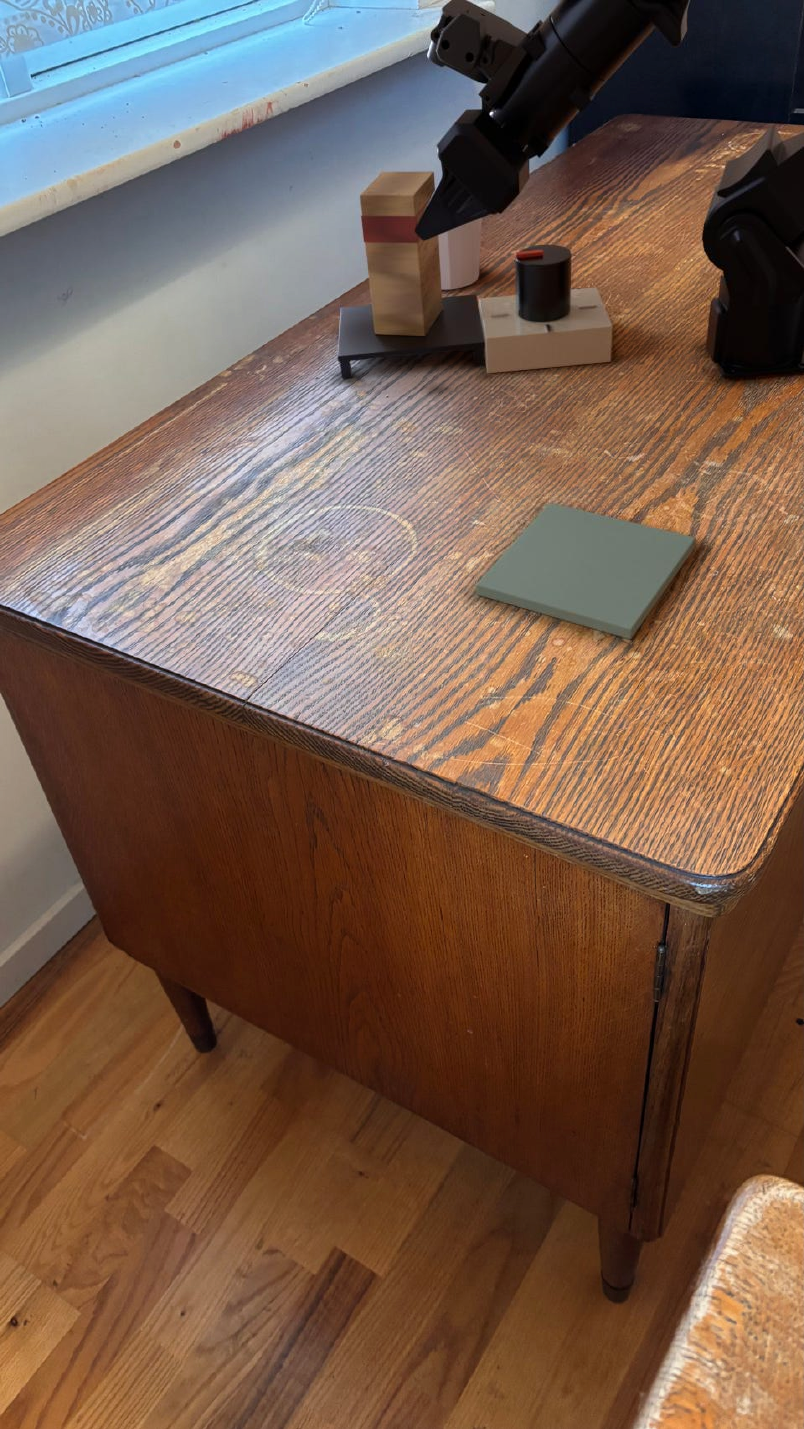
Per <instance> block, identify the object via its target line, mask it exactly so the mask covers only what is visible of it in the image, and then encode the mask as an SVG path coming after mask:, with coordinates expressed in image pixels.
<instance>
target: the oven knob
mask: <svg viewBox="0 0 804 1429" xmlns="http://www.w3.org/2000/svg"><path fill="white" fill-rule="evenodd" d="M514 261H515V262H514V266H515V270H514V271H515V295H516V313H517V315H518V316H519V317H520V318H522V319H525V320H528V321H534V322H546V321H553V320H557V319H560V318H562V317H564V316H566V315H567V314H568V313H569V312H570V309H571V290H572V251H571V250H570V249H569V248H567V247H565V246H563V245H558V244H537V245H532V246H528V247H525V248H522V249H520V250H519V251H516V252H515V256H514Z"/></svg>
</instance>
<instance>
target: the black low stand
mask: <svg viewBox="0 0 804 1429" xmlns="http://www.w3.org/2000/svg"><path fill="white" fill-rule="evenodd" d="M442 304H443V309H442V311H441V312H440V314H439V315H438V317H437V318H436V320H435V321H434V323H433V324H432V326H431V328H430V329H429V331H428V332H427V334H426V335H425V336H406V335H381V334H375V328H374V319H373V310H372V304H363V305H352V306H344V307H342V306H341V307H340V315H339V329H338V345H337V346H338V348H337V361H338V363H339V367H340V374H341V379H352V375H353V372H352V365H351V362H353V361H363V360H373V359H383V358H395V357H405V356H415V355H416V356H417V355H424V354H425V355H427V354H435V353H436V354H437V353H447V352H448V353H449V352H457V351H458V352H459V351H467V350H473V364H474V367H479V366H485V357H484V348H485V341H484V335H483V329H482V324H481V318H480V312H479V300H478V296H477V294H465V295H463V294H462V295H454V296H453V295H452V296H444V297H443V296H442Z"/></svg>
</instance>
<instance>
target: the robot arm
mask: <svg viewBox="0 0 804 1429" xmlns="http://www.w3.org/2000/svg"><path fill="white" fill-rule="evenodd" d="M690 2H691V0H560V1H559V3H558V4H557V5H556V6H555V8H553V9H552V11H551V13H549V15H548V16H547V17H546V19H544V21H542V19H539V20H538V21H537V22H536V24H535V25H534V27H532V28H531V29H530V30H529V31H528V32H525V31H523V29H520V28H518V27H517V26H515V25H514V24H512V23H511V22H510V21H508V20H506V19H504V18H502V17H501V16H499V15H497V14H495V13H493V12H491V11H489V10H487V9H485V8H483V7H481V6H479V5H477V4H476V3H474V2H472V1H469V0H449V1H448V2H447V3H446V4H445V5H444V6H442V8H441V11H440V14H439V17H438V20H437V23H436V25H435V27H434V28H433V29H432V30H431V31H430V36H429V38H430V40H431V42H430V45H429V48H428V50H427V53H426V57H427V59H428V60H429V61H430V62H431V63H433V64H434V65H436V66H438V67H440V68H444V67H447V68H448V69H451V70H452V71H455V72H456V73H458V74H460V75H463V76H464V77H466V78H469V79H470V80H472V81H474V82H477V83H479V84H484V86H483V87H482V88H481V90H480V91H479V92H478V93H477V95H478V96H479V97H480V98H481V108H477V109H475V108H473V109H472V108H471V109H469V108H468V109H465V110H464V112H463V113H462V114H460V116H459V117H458V118H457V120H456V121H455V122H454V123H453V124H452V125H451V126H450V128H448V130H447V131H446V133H445V134H444V135H443V136H442V137H441V138H440V140H439V141H438V142H437V144H436V148H437V150H436V152H437V153H436V154H437V155H436V156H437V158H438V160H439V162H440V167H441V172H442V174H441V177H440V179H439V182H438V183H437V185H436V186H435V191H434V193H433V195H432V197H431V199H430V201H429V203H428V205H427V206H426V208H425V210H424V212H423V214H422V216H421V218H420V220H419V222H418V223H417V225H416V227H415V230H414V231H415V233H416V234H417V235H418V236H419V237H420V238H421V239H422V240H423V241H426V240H428V239H430V238H433V237H435V236H438V235H440V234H442V233H445V232H447V231H449V230H452V229H454V228H457V227H459V226H462V225H464V224H467V223H469V222H472V221H474V220H477V219H480V218H482V219H483V218H485V217H488V216H491V215H492V216H495V215H497V214H500V215H502V214H503V213H504V212H505V211H506V210H507V208H508V207H509V206H510V205H511V204H512V203H513V202H514V201H515V200H516V198H518V196H519V195H520V194H521V192H522V191H523V190H524V188H525V186H526V184H527V183H528V181H529V180H530V160H532V159H533V158H535V157H537V158H538V159H540V158H541V157H542V156H543V155H544V154H545V153H546V152H547V151H548V150H549V148H550V147H551V145H552V144H553V143H554V141H555V139H556V138H557V137H558V135H559V134H560V133H561V132H562V131H563V130H564V129H565V128H566V127H567V126H568V124H569V123H570V122H571V121H572V120H573V119H574V118H575V117H576V115H577V114H579V112H580V113H582V112H583V111H584V110H585V109H586V107H587V106H588V105H589V104H591V102H592V100H594V97H595V96H596V94H597V93H598V91H599V90H600V89H601V88H602V87H603V86H604V85H605V84H606V82H607V81H608V80H609V79H610V78H611V77H612V75H614V74H615V73H616V72H617V70H618V69H619V68H620V67H621V66H622V65H623V63H624V62H625V61H626V60H627V59H628V58H629V57H630V56H631V55H632V53H633V52H635V50H636V49H637V48H638V47H639V46H640V45H641V44H642V43H643V41H644V40H646V39H647V37H648V36H649V35H650V34H651V33H652V32H653V30H654V29H655V28H656V29H657V31H658V32H659V33H660V34H661V36H662V37H663V38H664V39H665V41H666V42H667V43H668V45H670V47H672V48H678V47H679V46H680V45H681V44H682V41H683V39H684V38H685V35H686V33H687V31H688V22H687V20H688V9H689V5H690ZM701 240H702V241H701V242H702V246H703V247H702V248H703V251H704V254H705V255H706V257H707V259H708V261H709V262H710V263H711V264H713V265H714V266H715V267H716V269H718V270H720V271H722V274H723V275H720V277H719V278H720V279H719V286H718V287H719V288H718V296H717V297H716V296H715V297H713V298H712V299H711V300H710V305H709V312H708V313H709V314H708V323H707V331H706V332H707V333H706V341H705V349H706V352H707V353H708V356H709V357H710V359H711V361H712V363H714V364H715V366H716V367H717V370H718V371H719V373H720V375H721V377H722V378H723V379H724V380H727V381H728V380H729V381H730V380H731V381H732V380H741V379H751V378H761V377H772V376H783V375H795V374H804V131H802V132H800V133H797V134H795V135H793V136H791V137H789V138H786V139H782V137H781V135H780V133H779V130H778V128H777V126H776V124H775V125H774V124H772V125H771V126H770V127H768V129H767V130H765V131H764V132H763V134H762V135H761V136H760V137H759V138H758V140H757V141H756V142H755V143H754V144H753V145H752V146H751V147H750V148H748V150H747V151H746V152H744V153H743V154H741V155H740V156H737V157H736V158H732V159H730V160H728V161H726V163H725V165H724V169H723V171H722V175H721V178H720V181H719V182H718V184H717V186H716V188H715V189H714V193H713V195H712V197H711V200H710V204H709V207H708V210H707V213H706V216H705V220H704V223H703V227H702V235H701Z"/></svg>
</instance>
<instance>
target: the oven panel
mask: <svg viewBox="0 0 804 1429" xmlns="http://www.w3.org/2000/svg"><path fill="white" fill-rule="evenodd" d="M478 306H479V312H480V318H481V324H482V329H483V335H484V341H485V348H484V364H485V368H486V373H487V374H496V373H497V374H498V373H506V372H519V371H527V370H529V371H530V370H539V369H547V368H548V369H549V368H559V367H560V368H561V367H569V366H570V367H571V366H580V365H590V364H591V365H592V364H601V363H603V364H604V363H610V362H612V350H613V349H612V348H613V328H614V326H613V324H612V322H611V319H610V317H609V314H608V311H607V309H606V306H605V304H604V301H603V299H602V296H601V294H600V291H599V289H598V287H597V286H595V287H583V288H575V289H574V288H573V289H571V309H570V312H569V313H568V314H567V315H566V316H564V317H562V318H560V319H557V320H553V321H546V322H534V321H528V320H525V319H522V318H520V317H519V316H518V315H517V313H516V294H512V295H503V296H492V297H483V298H478Z"/></svg>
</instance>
